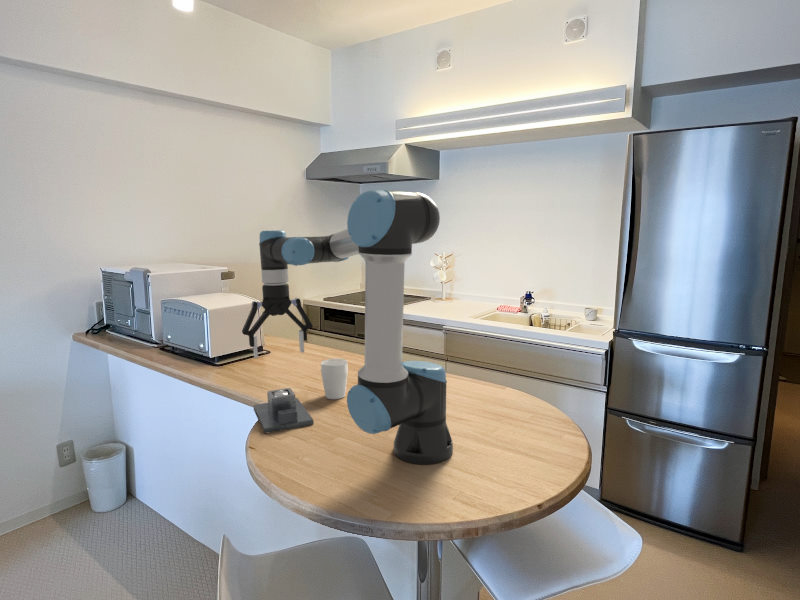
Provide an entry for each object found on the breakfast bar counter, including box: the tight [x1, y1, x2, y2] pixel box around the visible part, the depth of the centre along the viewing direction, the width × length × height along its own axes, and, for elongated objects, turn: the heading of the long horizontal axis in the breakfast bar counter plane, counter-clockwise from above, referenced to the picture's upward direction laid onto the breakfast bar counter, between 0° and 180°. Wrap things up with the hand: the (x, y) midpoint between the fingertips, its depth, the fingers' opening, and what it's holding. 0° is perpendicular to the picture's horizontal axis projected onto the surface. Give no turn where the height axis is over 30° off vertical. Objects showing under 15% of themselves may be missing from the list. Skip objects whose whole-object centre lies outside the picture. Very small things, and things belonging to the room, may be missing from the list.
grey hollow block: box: [266, 387, 296, 418], centre depth 147 cm, size 7×7×6 cm
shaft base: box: [253, 391, 314, 434], centre depth 147 cm, size 20×14×8 cm
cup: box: [320, 358, 349, 400], centre depth 164 cm, size 9×9×12 cm
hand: (279, 354), depth 144 cm, fingers open, 13 cm apart
